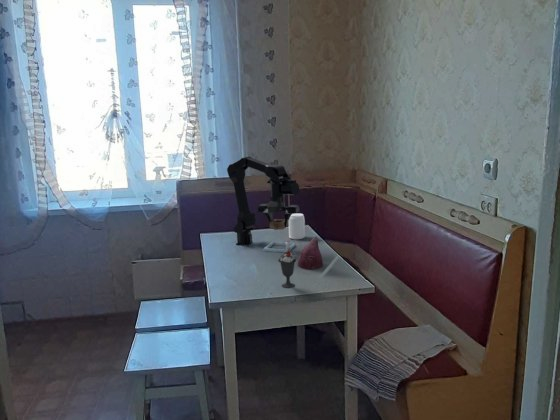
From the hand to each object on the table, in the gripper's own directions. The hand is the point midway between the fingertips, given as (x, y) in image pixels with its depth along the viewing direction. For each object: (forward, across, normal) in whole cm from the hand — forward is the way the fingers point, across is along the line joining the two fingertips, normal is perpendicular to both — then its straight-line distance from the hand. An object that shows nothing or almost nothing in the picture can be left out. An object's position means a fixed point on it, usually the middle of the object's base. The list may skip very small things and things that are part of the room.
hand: (278, 226), depth 228 cm
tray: (+11, 0, 0) cm, 11 cm away
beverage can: (+11, +1, +23) cm, 26 cm away
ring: (0, 0, 0) cm, 0 cm away
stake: (+11, +8, -11) cm, 18 cm away
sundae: (+11, +19, -43) cm, 48 cm away
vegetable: (+11, +21, -21) cm, 32 cm away
